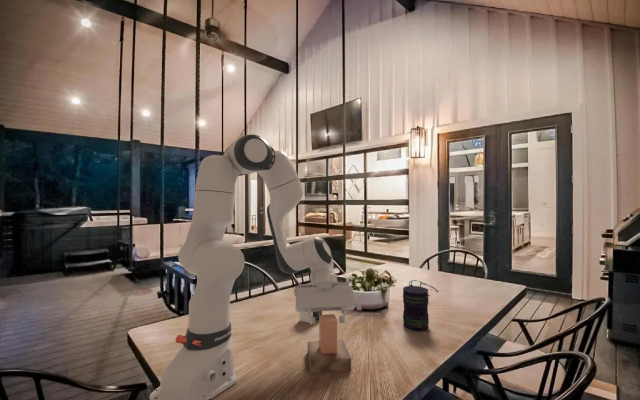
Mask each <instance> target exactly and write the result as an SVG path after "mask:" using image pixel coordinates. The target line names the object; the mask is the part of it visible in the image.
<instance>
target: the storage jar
mask: <svg viewBox="0 0 640 400" xmlns="http://www.w3.org/2000/svg"><path fill="white" fill-rule="evenodd" d="M428 295H429V289H428V288H426V287H423V286H421V287H420V285H419V286H418V285H413V286H409V285H407V286H403V287H402V302H403V313H402V315H403V316H402V321H403V328H405V329H406V330H409V331H412V332H418V333H423V332H427V331H428V330H429V323H430V321H429V320H430V318H429V313H428V312H429V307H428V306H429V296H428Z"/></svg>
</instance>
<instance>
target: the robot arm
mask: <svg viewBox="0 0 640 400" xmlns="http://www.w3.org/2000/svg"><path fill="white" fill-rule="evenodd" d="M224 150H225V151H224V152H223V153H222V154H221V155H220V154H214V155H213V154H211V155H208V156H206V157H204V158H203V159H201V160H202V161H200V165H199V169H198V172H197V176H196V181H195V188H194V189H195V190H194V197H193V198H194V200H193V209H192V210H193V211H192V217H191V222H190V224H189V228H188V229H189V230H188V231H187V235H186V238H185V241H184V243H183V245H182V246H181V247H180V249H179V251H178V254H177V257H178V258H177V259H178V262H179V264H180V266H181V267H182V268H183V269H184V270H185V271H186V272H187V273H189V274H191V275H194V276H196V279H197V280H196V286H195V288H194V289H195V290H194V292H193V296H191V297H190V299H189V301H188V327H187V330H186V333H185V335H182V334H178V335H177V336H176V338H175V339H174V340H175V343H176V344H181V345H182V347H181V348H180V349H179V350H178V352H177V353H176V355H175V356H174V357H173V358H172V359H171V360H170V362H169V363H168V365H167V366H166V367H165V369H164V370H163V372H162V374H161V379H160V385H159V386H158V387H157V388H155V390H153V391H152V392H151V393H150V395H149V400H209V399H210V400H211V399H213V398H215V397H216V396H218V395H219V394H221V393H222V392H223V391H226V390H227V389H229V388H230V387H231V386H233V385H235V384H237V382H238V377H237V374H236V368H235V367H236V366H235V363H234V354H233V348H232V343H231V337H232V323H231V321H230V320H231V319H230V315H231V313H230V312H231V295H232V290H233V288H234V284H235V281H236V280H237V278H239V276H240V275H241V273H242V272H243V270H244V267H245V262H246V261H245V260H246V259H245V255H244V253H243V252H242V250H241V249H239V247H237V246H235V245H234V244H232V243H230V242H227V241H223V239H224V235H225V233H226V230H227V229H228V226H230V224H231V223H232V221H233V218H234V206H235V192H236V181H237V179H238V177H242V176H246V175H251V174H253V173H254V174H255V173H256V174H258V175H259V176H260V177H261V178H262V179H263V181H264V183H265V186H266V188H267V191H268V193H269V204H268V206H267V207H266V216H267V221H268V225H269V229H270V233H271V238H272V240H273V245H274V246H273V247H274V250H275V256H276V257H275V258H276V262H277V263H276V264H277V266H278V268H279V270H281V272H283V273H285V274H287V275H290V276H291V275H293V274H295V273H298V272H300V271H302V270H305V269H310V272H311V273H310V283H305V284H302V283H301V284H298V285H296V286H295V287H294V288H293V295H294V296H295V303H294V305H295V311H296V312H297V313H300V312H306V315H307V316H308V318H309V319H310V323H309V324H310V325H311V326H314V325H316V323H315V317H312V316H311V312H317V311H322V312H335V311H341V314H342V315H339V317H338V319H339V324H345V323H346V317H345V316H346V314H347V311H353V310H354V309H355V308H356V307H357V299H356V294H355V292H354V289H353V287H352V286H351V285H350V278H348V277H346V276H341V275H338V274H336V273H335V270H334V266H335V263H334V260H333V254H332V250H331V246H330V245H329V243H328V242H327V240H325V239H324V238H322V237H320V236H313V237H309V238H305V239H304V240H300V241H297V242H294V243H292V244H291V243H289V242H288V240H287V235H286V231H285V226H284V219H285V217H286V215H288V214H289V213H290V212H291V211H292V210H294V208H296V207H297V206H298V204H300V202H301V200H302V197H303V194H304V190H303V185H302V183H301V180H300V178H299V175H298V172H297V170H296V169H295V166H294V165H293V163H292V162H291V159H290V158H289V157H288V155H287V154H286V153H285V152H284V151H281V150H275V149H274V148H273V147H272V146H271V145H270V144H269V143H268V142H267V140H266V139H264V138H263V137H262V136H260V135H257V134H245V135H242V136H241V137H240V138H238V139H236V140H234V141H233V142H232V143H231V144H230V145H229V146H228V147H227V148H225V149H224ZM156 390H157V391H156Z"/></svg>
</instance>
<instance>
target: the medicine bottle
mask: <svg viewBox="0 0 640 400" xmlns="http://www.w3.org/2000/svg"><path fill="white" fill-rule="evenodd" d="M319 315H323V311H317V312H311V316H312V317H315V324H316V323H317V322H319ZM299 321H300V322H303V323H306V324H307V323H308V324H310V319H309V318H308V316H307V315H306V312H299Z"/></svg>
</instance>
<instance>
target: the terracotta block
mask: <svg viewBox="0 0 640 400" xmlns="http://www.w3.org/2000/svg"><path fill="white" fill-rule="evenodd" d="M318 322H319V323H318V326H319V328H318V332H319V333H318V334H319V336H318V338H319V339H318V340H319V347H320V351H321V354H330V353H337V340H338V319H337V317H336V314H334V313H333V314H322V315H319V321H318Z"/></svg>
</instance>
